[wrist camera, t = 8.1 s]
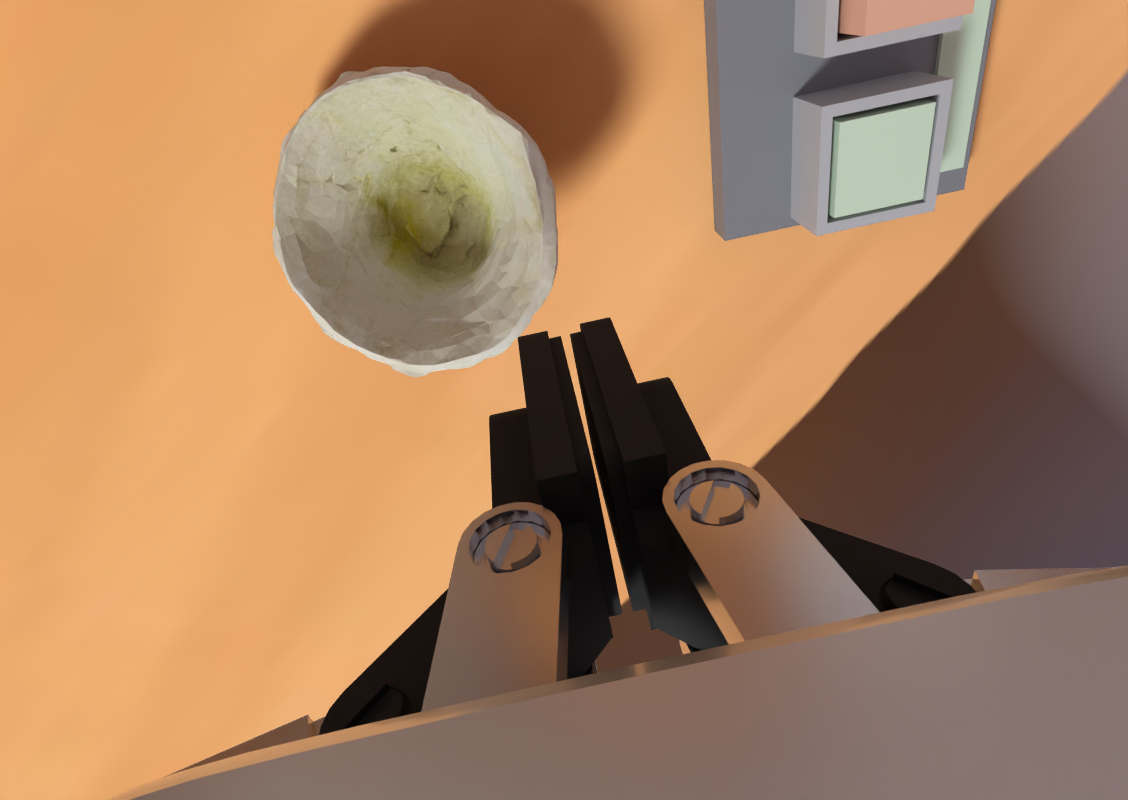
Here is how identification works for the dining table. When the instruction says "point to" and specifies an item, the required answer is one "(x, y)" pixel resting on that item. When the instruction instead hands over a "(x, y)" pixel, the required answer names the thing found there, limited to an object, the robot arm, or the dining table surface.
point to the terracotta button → (895, 14)
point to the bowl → (415, 219)
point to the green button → (879, 157)
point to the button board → (827, 105)
